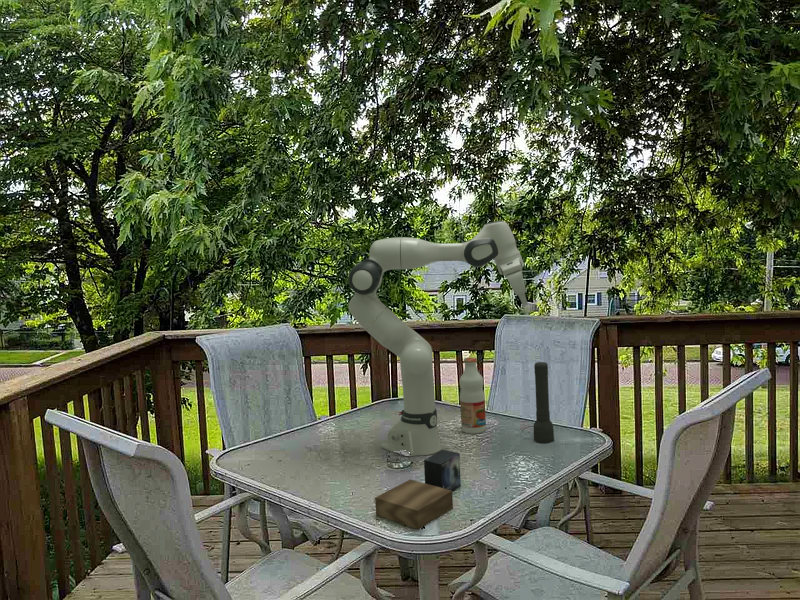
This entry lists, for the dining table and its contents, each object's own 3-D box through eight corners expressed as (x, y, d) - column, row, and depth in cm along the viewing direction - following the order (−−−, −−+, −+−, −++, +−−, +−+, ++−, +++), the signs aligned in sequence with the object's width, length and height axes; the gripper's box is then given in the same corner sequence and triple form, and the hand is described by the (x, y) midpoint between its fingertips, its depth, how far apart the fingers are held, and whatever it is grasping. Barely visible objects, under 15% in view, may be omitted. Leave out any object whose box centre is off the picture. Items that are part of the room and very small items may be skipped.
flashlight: (556, 442, 218) (551, 436, 225) (553, 364, 215) (548, 360, 222) (536, 443, 218) (531, 437, 225) (533, 365, 215) (528, 361, 222)
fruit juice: (463, 426, 243) (460, 356, 241) (487, 426, 241) (484, 356, 238) (459, 433, 234) (455, 361, 232) (484, 434, 232) (480, 361, 229)
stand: (376, 515, 168) (374, 497, 168) (411, 496, 180) (410, 479, 179) (418, 529, 159) (417, 510, 158) (453, 508, 170) (452, 490, 170)
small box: (443, 499, 176) (441, 463, 175) (424, 494, 180) (422, 459, 179) (462, 486, 185) (460, 452, 184) (444, 482, 189) (442, 448, 188)
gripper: (501, 266, 221) (514, 302, 222) (502, 271, 201) (517, 310, 202) (518, 260, 220) (531, 296, 221) (520, 264, 200) (535, 304, 201)
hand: (524, 303), depth 211 cm, fingers open, 8 cm apart
